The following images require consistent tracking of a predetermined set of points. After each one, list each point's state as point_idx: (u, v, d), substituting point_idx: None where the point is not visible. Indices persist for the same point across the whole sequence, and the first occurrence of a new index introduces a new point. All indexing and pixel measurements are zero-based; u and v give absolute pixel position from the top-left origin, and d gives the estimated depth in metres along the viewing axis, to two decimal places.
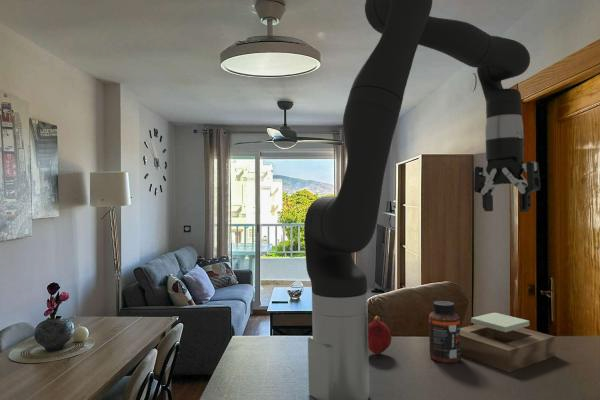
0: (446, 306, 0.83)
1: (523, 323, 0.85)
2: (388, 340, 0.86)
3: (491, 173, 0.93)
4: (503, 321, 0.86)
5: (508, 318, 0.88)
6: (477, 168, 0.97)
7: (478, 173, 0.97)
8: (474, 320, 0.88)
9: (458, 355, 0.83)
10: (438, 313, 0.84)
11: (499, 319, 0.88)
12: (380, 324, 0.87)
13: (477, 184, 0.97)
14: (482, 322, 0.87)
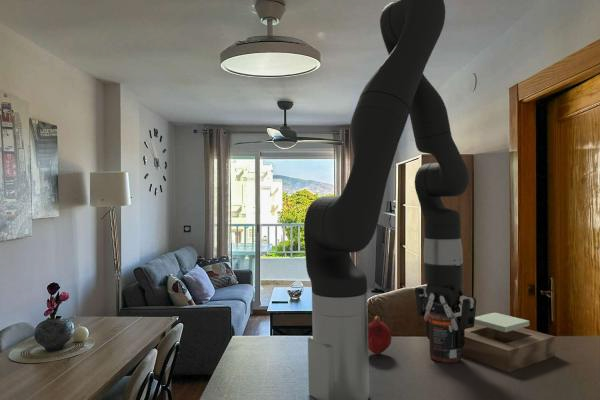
0: None
1: (523, 323, 0.85)
2: (388, 340, 0.86)
3: (430, 298, 0.86)
4: (503, 321, 0.86)
5: (508, 318, 0.88)
6: (417, 289, 0.90)
7: (419, 295, 0.90)
8: None
9: (458, 355, 0.83)
10: (438, 312, 0.84)
11: (499, 319, 0.88)
12: (380, 324, 0.87)
13: (419, 307, 0.89)
14: (482, 322, 0.87)
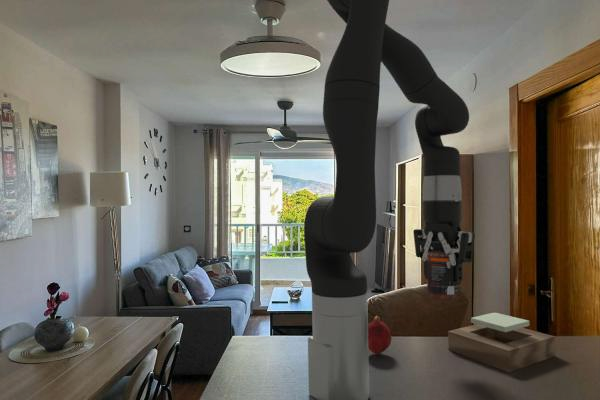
0: None
1: (523, 323, 0.85)
2: (388, 340, 0.86)
3: (428, 237, 0.86)
4: (503, 321, 0.86)
5: (508, 318, 0.88)
6: (415, 231, 0.90)
7: (417, 236, 0.90)
8: (474, 320, 0.88)
9: (456, 292, 0.83)
10: (437, 250, 0.84)
11: (499, 319, 0.88)
12: (380, 324, 0.87)
13: (418, 248, 0.89)
14: (482, 322, 0.87)
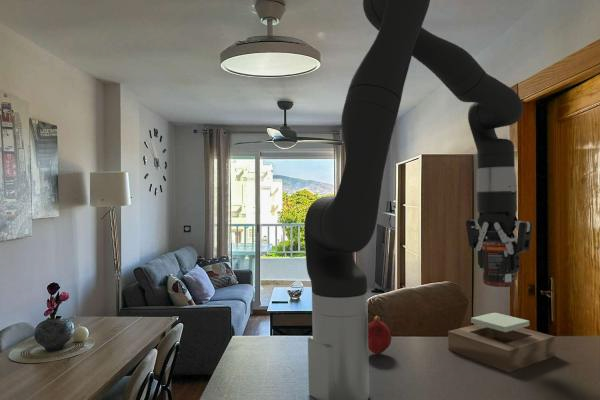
0: None
1: (523, 323, 0.85)
2: (388, 340, 0.86)
3: (483, 227, 0.88)
4: (503, 321, 0.86)
5: (508, 318, 0.88)
6: (468, 222, 0.92)
7: (470, 227, 0.92)
8: (474, 320, 0.88)
9: (513, 280, 0.85)
10: (493, 239, 0.86)
11: (499, 319, 0.88)
12: (380, 324, 0.87)
13: (471, 238, 0.92)
14: (482, 322, 0.87)
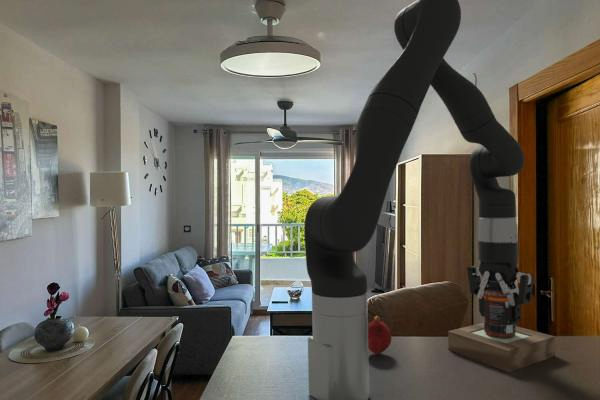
0: None
1: None
2: (388, 340, 0.86)
3: (484, 276, 0.88)
4: None
5: None
6: (469, 268, 0.92)
7: (471, 274, 0.92)
8: None
9: (514, 330, 0.85)
10: (494, 289, 0.86)
11: None
12: (380, 324, 0.87)
13: (472, 285, 0.92)
14: None
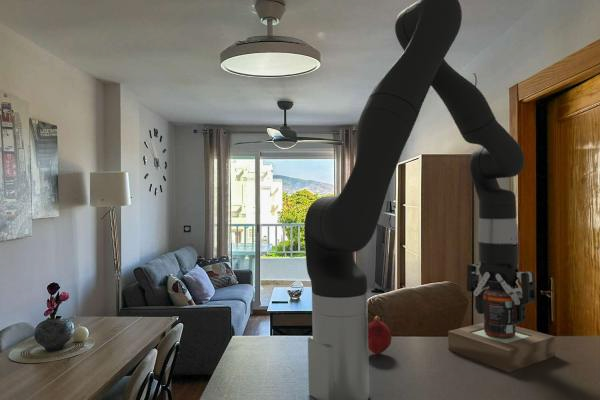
0: None
1: None
2: (388, 340, 0.86)
3: (484, 276, 0.88)
4: None
5: None
6: (470, 267, 0.92)
7: (471, 272, 0.92)
8: None
9: (514, 330, 0.85)
10: (494, 289, 0.86)
11: None
12: (380, 324, 0.87)
13: (470, 283, 0.92)
14: None
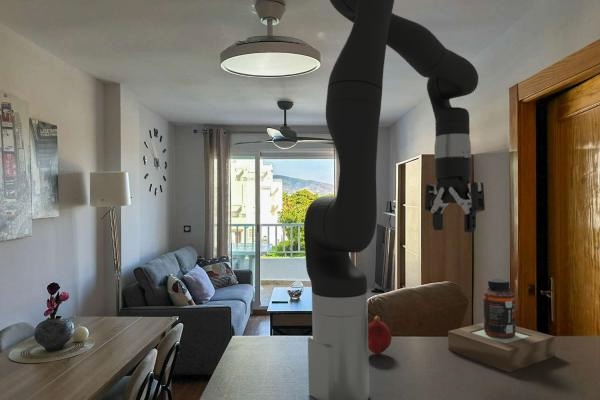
0: (502, 283, 0.86)
1: None
2: (388, 340, 0.86)
3: (439, 192, 0.92)
4: None
5: None
6: (428, 186, 0.96)
7: (429, 191, 0.96)
8: None
9: (514, 330, 0.85)
10: (494, 289, 0.86)
11: None
12: (380, 324, 0.87)
13: (428, 202, 0.96)
14: None
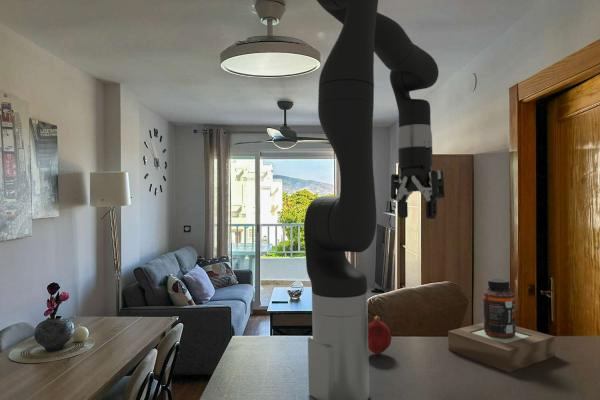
0: (502, 283, 0.86)
1: None
2: (388, 340, 0.86)
3: (403, 181, 0.96)
4: None
5: None
6: (393, 176, 1.00)
7: (394, 180, 1.00)
8: None
9: (514, 330, 0.85)
10: (494, 289, 0.86)
11: None
12: (380, 324, 0.87)
13: (393, 191, 1.00)
14: None
